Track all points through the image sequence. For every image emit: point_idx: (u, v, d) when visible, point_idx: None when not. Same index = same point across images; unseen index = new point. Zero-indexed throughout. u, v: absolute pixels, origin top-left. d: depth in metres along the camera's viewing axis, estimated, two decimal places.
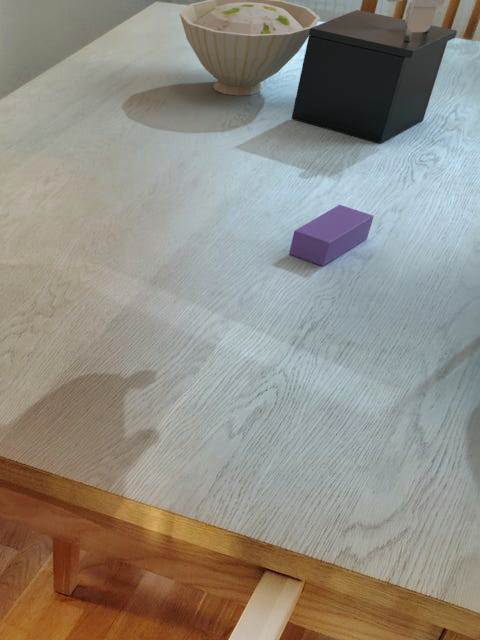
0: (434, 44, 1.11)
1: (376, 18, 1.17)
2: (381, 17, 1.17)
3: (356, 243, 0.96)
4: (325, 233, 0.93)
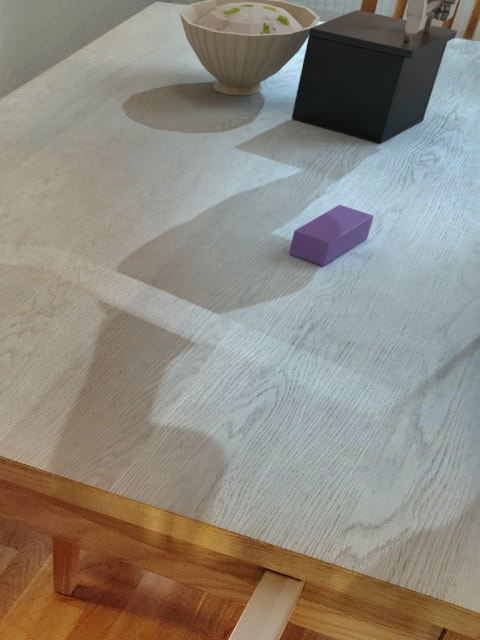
0: (434, 44, 1.11)
1: (376, 18, 1.17)
2: (381, 17, 1.17)
3: (356, 243, 0.96)
4: (325, 233, 0.93)
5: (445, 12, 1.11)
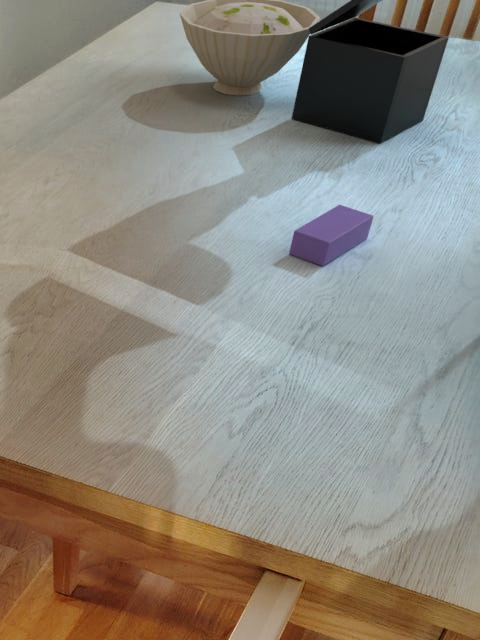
0: None
1: None
2: None
3: (356, 243, 0.96)
4: (325, 233, 0.93)
5: None
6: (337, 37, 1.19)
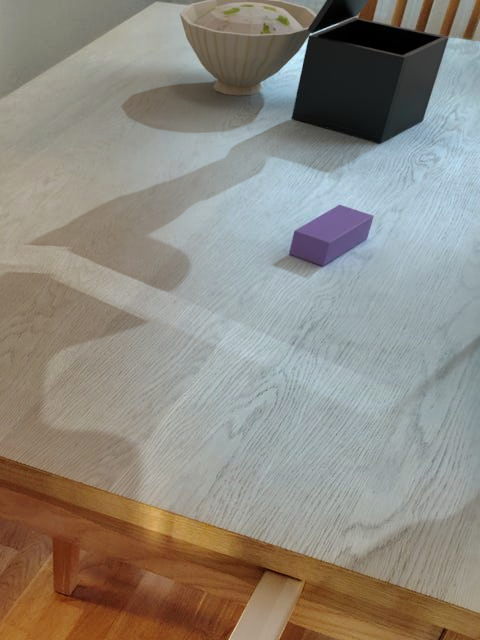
0: None
1: None
2: None
3: (356, 243, 0.96)
4: (325, 233, 0.93)
5: None
6: (337, 37, 1.19)
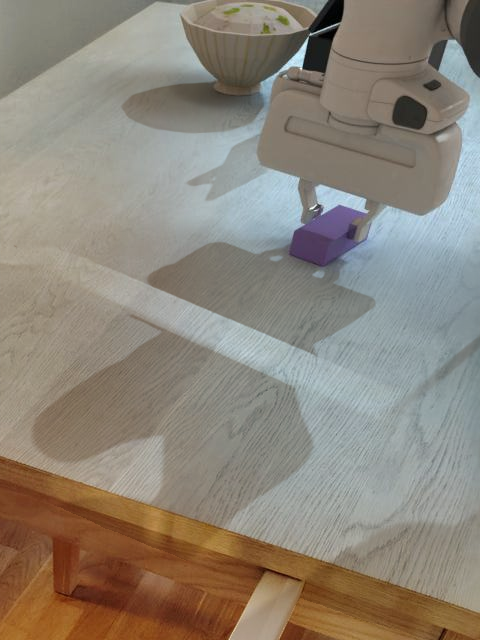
0: None
1: None
2: None
3: (356, 243, 0.96)
4: (325, 233, 0.93)
5: None
6: None
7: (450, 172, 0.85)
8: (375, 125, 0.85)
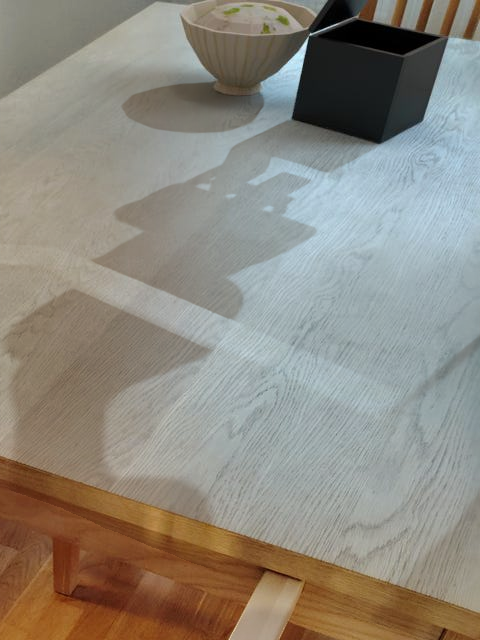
0: None
1: None
2: None
3: None
4: None
5: None
6: (337, 37, 1.19)
7: None
8: None
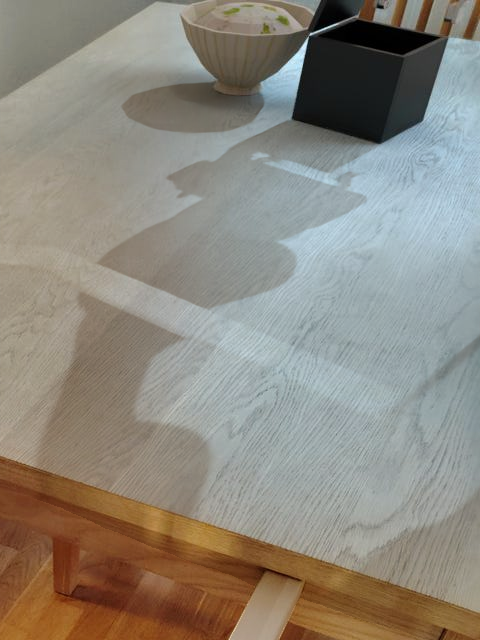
0: None
1: None
2: None
3: None
4: None
5: None
6: (337, 37, 1.19)
7: None
8: None
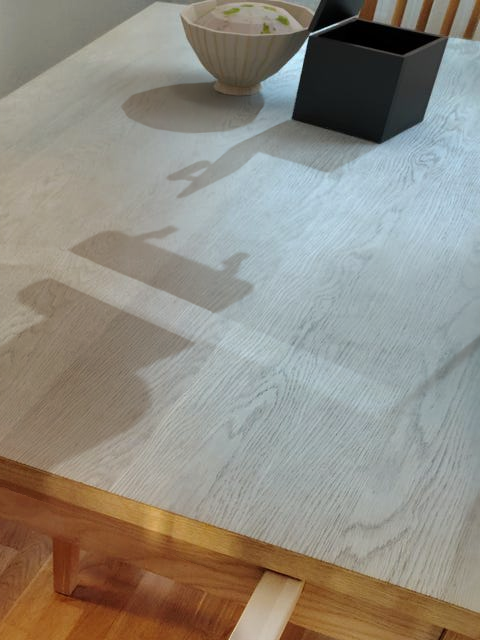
0: None
1: None
2: None
3: None
4: None
5: None
6: (337, 37, 1.19)
7: None
8: None
